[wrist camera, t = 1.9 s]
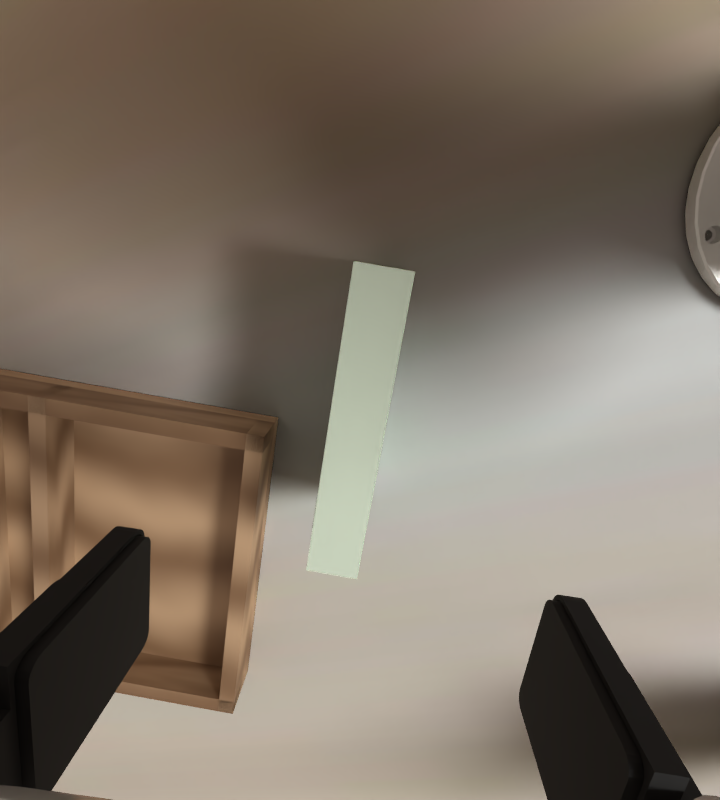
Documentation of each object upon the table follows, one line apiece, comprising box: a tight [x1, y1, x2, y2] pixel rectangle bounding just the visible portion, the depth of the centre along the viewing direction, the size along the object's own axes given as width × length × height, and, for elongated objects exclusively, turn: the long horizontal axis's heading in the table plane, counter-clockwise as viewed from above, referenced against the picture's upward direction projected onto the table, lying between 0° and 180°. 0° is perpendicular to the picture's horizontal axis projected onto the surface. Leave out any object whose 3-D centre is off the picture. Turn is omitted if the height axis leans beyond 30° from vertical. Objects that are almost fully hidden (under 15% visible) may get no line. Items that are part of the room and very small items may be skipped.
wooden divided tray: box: [0, 369, 278, 714], centre depth 31 cm, size 20×19×4 cm
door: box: [306, 261, 415, 579], centre depth 24 cm, size 14×2×9 cm, turn 171°
